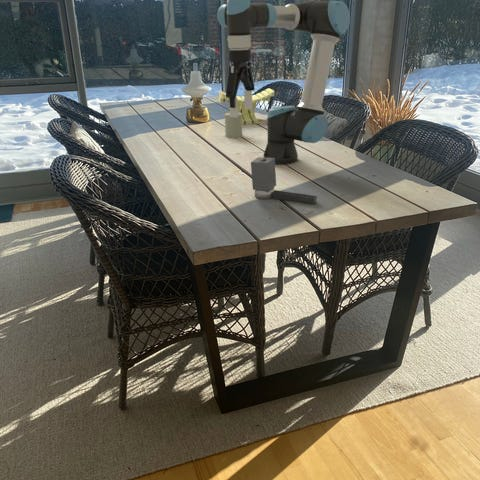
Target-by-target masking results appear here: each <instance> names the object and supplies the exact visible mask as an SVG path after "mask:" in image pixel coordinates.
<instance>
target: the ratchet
mask: <svg viewBox="0 0 480 480" xmlns="http://www.w3.org/2000/svg"><path fill="white" fill-rule="evenodd" d="M254 197H255V198H256V199H257V200H270V199H273V200H279V201H286V202H292V201H293V203H294V202H295V203H299V202H300V203H302V204H305V205H306V204H307V205H313V206H314V205H315V204H317V200H318V199H317V198H318V196H317V195H312V194H305V193H298V192H292V191H291V192H290V191H283V190H282V191H281V190H275V187H273V188H272V189H271V190H270V191H265V190H254Z"/></svg>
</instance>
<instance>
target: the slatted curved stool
mask: <svg viewBox="0 0 480 480" xmlns="http://www.w3.org/2000/svg"><path fill="white" fill-rule="evenodd" d="M271 97H275V90H274V89H271V88H266V89H264V90H262V91H260V92H258V93H256V94H252V110H250V109H245V107H244V96H238V95H236V98H237V102H238V112H239V113H242V125H252V124H255V125H256V124H260V121H259V119H258V118H257V117H256V115H255V110H256V107H257V104H258V103H260V102H263V101H264V102H265V101H267V102H271ZM218 102H219V104H223V103H229V98H226V92H224V91H222V90H221V89H220V90H218Z"/></svg>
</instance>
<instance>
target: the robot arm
mask: <svg viewBox="0 0 480 480" xmlns="http://www.w3.org/2000/svg"><path fill="white" fill-rule="evenodd" d="M216 17H217V18H216V19H217V21H218V24H219V25H220V26H222V27H223V28H227V39H226V41H227V43H228V44H227V46H228V48H229V49H228V61H229V62H230V63H232V65H230V66H228V79H227V85H226V92H225V93H226V98H229V102H228V104H229V112H230V117H238V102H237V98H236V96H238V95H237V93H238V91H239V86H240V82H242V84H243V88H244V91H243V95H244V96H243V97H244V107H245V109H250V110H252V95H253V91H255V81H254V76H253V73H252V72H253V71H252V64H251V60H252V50H251V49H250V48H251V47H252V41H251V40H252V39H251V37H252V36H251V35H252V34H251V33H252V32H251V29H260V28H264V29H265V28H284V29H285V30H287V31H297V32H302V33H308V34H310V37H311V39H312V46H311V51H310V56H309V60H308V61H309V62H308V65H307V70H306V76H305V81H304V87H303V91H302V96H301V101H300V102H299V104H297V105H296V106H294V105H284V106H283V105H282V106H280V105H279V106H275V107H271V108H269V109H268V111H267V118H266V119H267V120H266V121H267V124H266V125H267V143H266V147H265V150H264V152H263V157H262V158H275V165H289V164H294V163H296V162H298V160H299V159H298V158H299V155H298V151H297V148H296V144H295V141H299V142H303V143H310V144H315V143H318V142H320V141H321V140H322V139H323V138H324V136H325V134H326V133H327V130H328V124H329V123H328V118H327V117H326V115H325V109H324V108H323V103H324V98H325V93H326V87H327V85H328V83H327V82H328V79H329V73H330V70H331V64H332V61H333V60H332V59H333V55H334V49H335V45H336V44H337V43H338V42H340V39H341V35H344V34H345V33H347V31H348V30H349V27H350V23H351V14H350V11H349V8H348V6H347V4H346V3H345V2H343V1H341V0H316V1H315V0H314V1H313V0H312V1H305V2H299V3H297V2H296V3H288V4H286V5H273V4H272V3H269V2H268V3H267V2H262V3H261V2H259V3H251V0H227V1H226V4H222V5H220V6H219V8H218V9H217V13H216Z"/></svg>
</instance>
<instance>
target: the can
mask: <svg viewBox="0 0 480 480" xmlns="http://www.w3.org/2000/svg"><path fill="white" fill-rule="evenodd" d="M224 125H225V126H224V128H225V129H224V131H225V135H224V136H225V137H226V138H229V139H237V138H241V137H243V124H242V113H239V112H238V117H230V111H229V112H226V113H224Z"/></svg>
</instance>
